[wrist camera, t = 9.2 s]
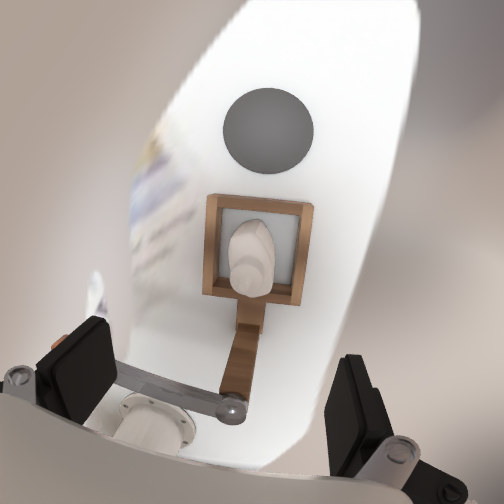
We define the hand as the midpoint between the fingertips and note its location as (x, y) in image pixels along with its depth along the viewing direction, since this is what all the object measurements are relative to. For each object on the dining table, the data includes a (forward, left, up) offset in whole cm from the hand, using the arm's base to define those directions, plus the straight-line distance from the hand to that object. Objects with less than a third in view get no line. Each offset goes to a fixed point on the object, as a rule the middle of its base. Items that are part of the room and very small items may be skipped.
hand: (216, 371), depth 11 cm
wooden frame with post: (-3, 0, -22) cm, 22 cm away
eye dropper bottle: (0, 0, -22) cm, 22 cm away
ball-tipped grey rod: (-9, +8, -9) cm, 15 cm away
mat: (+12, 0, -22) cm, 25 cm away
